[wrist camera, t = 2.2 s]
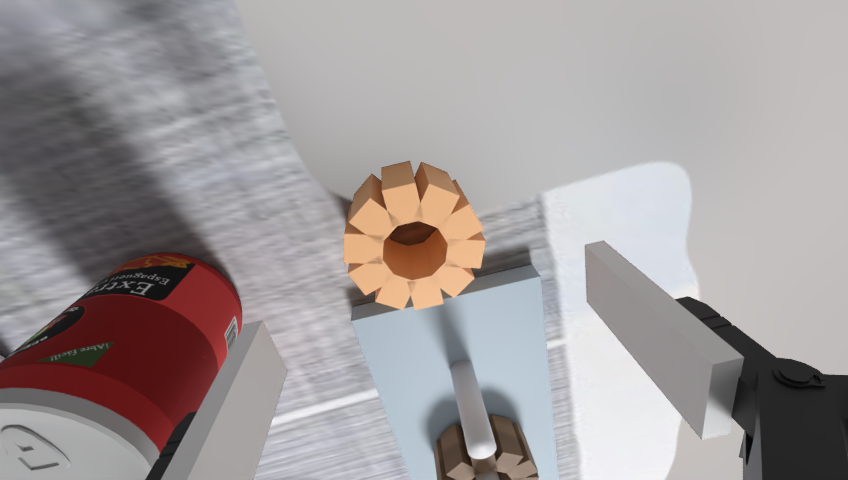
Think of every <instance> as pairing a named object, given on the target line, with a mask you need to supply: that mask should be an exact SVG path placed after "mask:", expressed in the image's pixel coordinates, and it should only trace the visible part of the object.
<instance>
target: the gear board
mask: <svg viewBox="0 0 848 480" xmlns="http://www.w3.org/2000/svg"><path fill="white" fill-rule="evenodd" d="M440 290H441V294H442V298H443V303H444V304H441V305H436V306H432V307H428V308H424V309H419V310H415V309H414V305H413V301H412V298H411V295H410V297H409V299H408V302H407V304H406V306H405V308H404V310H401V309H397V308H394V307H391V306H387V305H384V304H381V303H377V302H371V303H367V304H363V305H358V306H354V307H353V308H352V317H351V323H352V325H353V328H354V331H355V333H356V336H357V338H358V341H359V344H360V346H361V349H362V352H363V354H364V357H365V360H366V362H367V365H368V368H369V370H370V373H371V376H372V378H373V381H374V384H375V386H376V389H377V392H378V394H379V397H380V399H381V402H382V405H383V407H384V410H385V413H386V415H387V418H388V421H389V423H390V426H391V429H392V431H393V434H394V437H395V439H396V442H397V445H398V447H399V450H400V452H401V455H402V458H403V460H404V463H405V466H406V468H407V471H408V474H409V476H410V479H411V480H437V475H436V467H435V460H434V452H435V446H436V441H441V439H440V435H441V434H442V433H444V432H445V431H446V430H447V429H448V428H450V427H451V426H452V425H453V424H454V423H455V424H457V425H458V426H460V427H462V428H463V432H464V437H465V442H466V446H467V451H468V454H469V456H470V457H472V458H475V459H484V458H487V457H490V456H491V455H493V454H494V452H495V451H496V443H495V440H494V436H493V433H492V429H491V426H490V423H489V418H490V417H491V415H496V416H500V417H504V418H508V419H510V420H511V422H512V424H514V423H517V425H518V426H519V427H520V429H521V430H522V432H523V433H524V435H525V437H526V440H527V443H528V445H529V448H530V451H531V453H532V456H533V459H534V461H535V464H536V467H537V469H538V472H537V473H538V476H539V479H538V480H559V477H558V466H557V454H556V443H555V432H554V421H553V410H552V399H551V388H550V377H549V366H548V355H547V344H546V333H545V322H544V311H543V299H542V288H541V277H540V275H539V274H538V272H537V271H536V269H535V268H534V267H533V265H532V264H531V265H527V266H523V267H519V268H514V269H510V270H506V271H502V272H498V273H493V274H489V275H485V276H481V277H477V278H475V279H474V280H472V281H471V282H470V283H469V284H468V285H467V286H466V287H465V288H464V289H463V290H462V291H461V292H460V293H459V294H458V295H457V296H456V297H455V298H453V297H452V296H450V295H449V294H448V293H446V292H445V291H443V290H442V289H441V288H440ZM476 480H499V477H498V473H497V471H490V472H486V473H482V474H478V475H477V476H476Z"/></svg>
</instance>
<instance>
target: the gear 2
mask: <svg viewBox="0 0 848 480" xmlns="http://www.w3.org/2000/svg"><path fill="white" fill-rule="evenodd" d="M489 423H490V426H491V429H492V433H493V436H494V440H495V443H496V451H495V452H494V454H493V455H491V456H490V457H487V458H484V459H475V458H472V457H470V456H469V454H468V451H467V446H466V442H465V437H464V432H463V428H462V427H460V426H458V425H457V424H455V423H454V424H453V425H452V426H451V427H450V428H448V429H447V430H446V431H445V432H444V433H442V434H441V435H440V439H441V441H436V446H435V452H434V460H435V467H436V475H437V480H476V476H477V475H478V474H482V473H486V472H490V471H497V473H498V477H499V480H538V479H539V476H538V473H537V472H538V469H537V467H536V464H535V461H534V459H533V456H532V453H531V451H530V448H529V445H528V443H527V440H526V437H525V435H524V433H523V432H522V430H521V429H520V427H519V426H518V425H517V423H514V424H512V422H511V420H510V419H508V418H504V417H500V416H496V415H491V417H490V418H489Z"/></svg>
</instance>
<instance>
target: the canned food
mask: <svg viewBox="0 0 848 480" xmlns="http://www.w3.org/2000/svg"><path fill="white" fill-rule="evenodd" d="M241 326H242V307H241V303H240V300H239V297H238V294H237V293H236V291H235V289H234V288H233V286H232V285H231V284H230V282H229V281H228V280H227V279H226V278H225V277H224V276H223V275H222V274H221V273H219V272H218V271H217V270H216V269H214V268H213V267H211V266H209V265H208V264H206V263H204V262H202V261H200V260H197V259H195V258H192V257H189V256H185V255H181V254H174V253H157V254H150V255H147V256H143V257H140V258H137V259H133V260H130V261H128V262H126V263H125V264H123V265H121V266H119V267H118V268H117V269H115V270H114V271H113V272H112V273H110V274H109V275H108V276H107V277H105V278H104V279H103V280H102V281H100V282H99V283H98V284H97V285H96V286H94V287H93V288H92V289H91V290H89V291H88V292H87V293H86V294H84V295H83V296H82V297H81V298H79V299H78V300H77V301H76V302H75V303H73V304H72V305H71V306H70V307H68V308H67V309H66V310H65V311H63V312H62V313H61V314H60V315H58V316H57V317H56V318H55V319H53V320H52V321H51V322H50V323H49V324H47V325H46V326H45V327H44V328H42V329H41V330H40V331H39V332H37V333H36V334H35V335H34V336H32V337H31V338H30V339H29V340H27V341H26V342H25V343H24V344H23V345H21V346H20V347H19V348H18V349H16V350H15V351H14V352H13V353H11V354H10V355H9V356H8V357H6V358H5V359H4V360H3V361H1V362H0V480H145V479H146V477H147V476H148V474H149V472H150V470H151V469H152V467H153V465H154V463H155V462H156V460H157V459H159V455H160V453H161V451H162V449H163V448H164V446H166V442H167V441H168V439H169V437H170V435H171V434H172V432H173V430H174V428H175V427H176V426H177V425H178V424H179V423H180V422H181V421H182V420H183V419H184V417H185V416H186V415H187V414H188V413H191V412H195V411H198V409H199V408H200V406H201V404H202V402H203V400H204V398H205V396H206V395H207V393H208V391H209V389H210V387H211V385H212V383H213V381H214V380H215V378H216V376H217V374H218V372H219V370H220V368H221V367H222V365H223V363H224V361H225V359H226V357H227V355H228V353H229V352H230V350H231V348H232V346H233V344H234V342H235V340H236V339H237V337H238V335H239V333H240V331H241Z"/></svg>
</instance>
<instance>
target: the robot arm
mask: <svg viewBox="0 0 848 480" xmlns="http://www.w3.org/2000/svg"><path fill="white" fill-rule="evenodd" d="M585 266H586V293H587V302H588V304H589V305H590V306H591V307H592V308H593V310H594V311H595V312H596V313H597V314H598V316H599V317H600V318H601V319H602V320H603V322H604V323H605V324H606V325H607V326H608V328H609V329H610V330H611V331H612V333H613V334H614V335H615V336H616V337H617V339H618V340H619V341H620V342H621V343H622V345H623V346H624V347H625V348H626V349H627V351H628V352H629V353H630V354H631V355H632V357H633V358H634V359H635V360H636V361H637V363H638V364H639V365H640V366H641V367H642V369H643V370H644V371H645V372H646V373H647V375H648V376H649V377H650V378H651V379H652V381H653V382H654V383H655V384H656V385H657V387H658V388H659V389H660V390H661V391H662V393H663V394H664V395H665V396H666V398H667V399H668V400H669V401H670V402H671V404H672V405H673V406H674V407H675V408H676V410H677V411H678V412H679V413H680V414H681V416H682V417H683V418H684V419H685V420H686V421H687V423H688V424H689V425H690V426H691V428H692V429H693V430H694V431H695V432H696V434H697V435H698V436H699V437H700V438H701V440H703V439H708V438H712V437H716V436H721V435H725V434H729V433H730V428H731V423H732V418H733V419H734V420H735V421H736V422H737V423H738V424H739V425H740V426H741V427H742V428H743V429H744V430H745V431H744V436H743V441H742V445H741V450H740V454H739V457H740V458H743V480H848V375H826V374H822V373H821V372H820V371H818V370H817V369H815V368H813V367H811V366H809V365H807V364H805V363H802V362H799V361H795V360H792V359H784V358H776V357H775V356H774V355H772V354H771V353H770V352H768V351H767V350H766V349H764V348H763V347H762V346H761V345H759V344H758V343H757V342H755V341H754V340H753V339H751V338H750V337H749V336H747V335H746V334H745V333H743V332H742V331H741V330H740V329H738V328H737V327H736V326H732V324H731V323H730V322H729V321H728V320H726V319H725V318H724V317H721V316H720V314H719V313H717V312H716V311H714V310H713V309H712V308H711V307H709V306H708V305H707V304H705V303H702V302H700V301H698V300H695V299H693V298H691V297H684V298H679V299H673V298H672V297H671V296H670V295H669V294H667V293H666V292H665V291H664V290H663V289H661V288H660V287H659V286H658V285H657V284H655V283H654V282H653V281H652V280H651V279H649V278H648V277H647V276H646V275H644V274H643V273H642V272H641V271H640V270H638V269H637V268H636V267H635V266H634V265H632V264H631V263H630V262H629V261H628V260H626V259H625V258H624V257H623V256H622V255H620V254H619V253H618V252H617V251H616V250H614V249H613V248H612V247H611V246H610V245H608V244H607V243H606V242H605V241H600V242H596V243H591V244H587V245H585ZM286 375H287V368H286V366H285V364H284V362H283V360H282V358H281V356H280V354H279V352H278V350H277V348H276V346H275V344H274V342H273V340H272V338H271V336H270V334H269V332H268V330H267V328H266V326H265V324H264V322H263V320H261V321H257V322H253V323H248V324H244V326H243V327H242V329H241V331H240V333H239V335H238V337H237V339H236V340H235V342H234V344H233V346H232V348H231V350H230V352H229V353H228V355H227V357H226V359H225V361H224V363H223V365H222V367H221V368H220V370H219V372H218V374H217V376H216V378H215V380H214V381H213V383H212V385H211V387H210V389H209V391H208V393H207V395H206V396H205V398H204V400H203V402H202V404H201V406H200V408H199V409H198V411H195V412H191V413H188V414H187V415H186V416H185V417H184V419H183V420H182V421H181V422H180V423H179V424H178V425H177V426H176V427H175V428H174V430H173V432H172V434H171V435H170V437H169V439H168V441H167V442H166V446H164V448H163V449H162V451H161V453H160V455H159V459H157V460H156V462H155V463H154V465H153V467H152V469H151V470H150V472H149V474H148V476H147V477H146V479H145V480H253V479H254V476H255V473H256V470H257V466H258V463H259V460H260V457H261V454H262V451H263V447H264V444H265V441H266V438H267V435H268V432H269V428H270V425H271V422H272V419H273V416H274V413H275V409H276V406H277V403H278V400H279V397H280V394H281V390H282V387H283V384H284V381H285V378H286Z"/></svg>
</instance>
